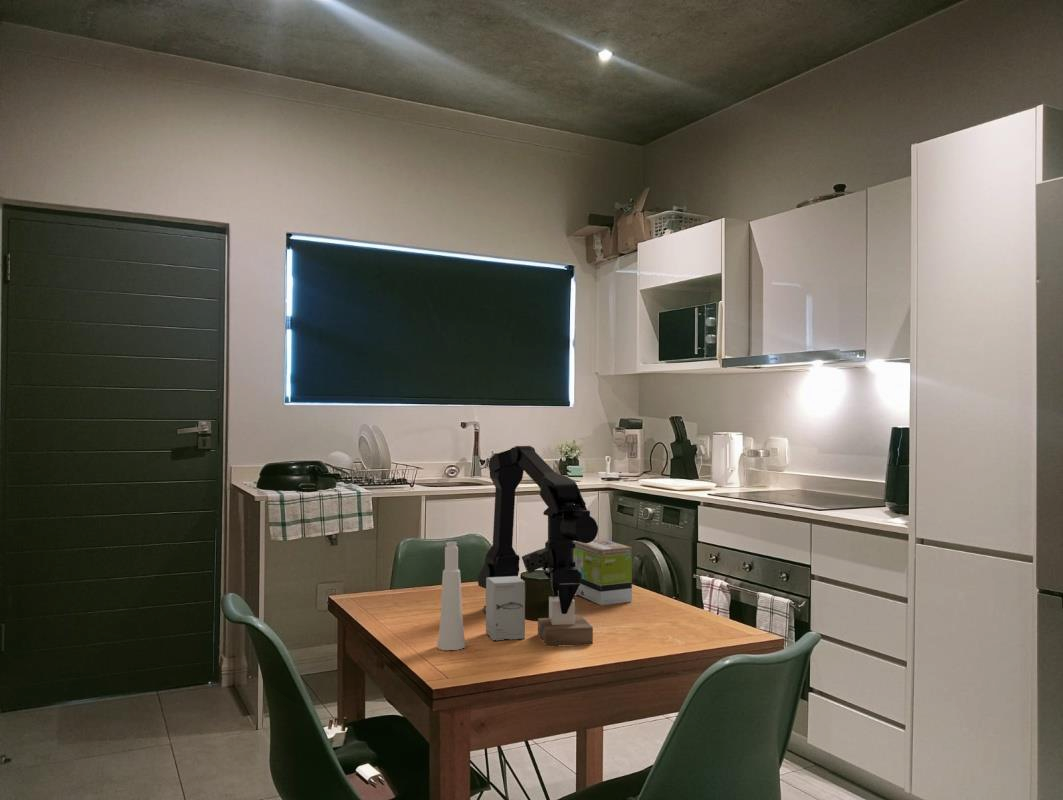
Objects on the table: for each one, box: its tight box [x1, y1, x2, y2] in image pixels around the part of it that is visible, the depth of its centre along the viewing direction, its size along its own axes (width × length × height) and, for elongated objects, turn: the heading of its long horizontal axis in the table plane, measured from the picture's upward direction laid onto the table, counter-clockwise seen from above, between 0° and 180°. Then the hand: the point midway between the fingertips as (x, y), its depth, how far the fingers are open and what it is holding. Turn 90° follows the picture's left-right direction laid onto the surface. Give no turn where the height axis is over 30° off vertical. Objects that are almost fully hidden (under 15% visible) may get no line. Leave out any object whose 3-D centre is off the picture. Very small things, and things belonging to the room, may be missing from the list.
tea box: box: [574, 539, 633, 606], centre depth 220 cm, size 15×10×15 cm, turn 25°
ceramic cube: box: [548, 596, 576, 625], centre depth 179 cm, size 5×5×5 cm
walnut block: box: [537, 615, 594, 647], centre depth 179 cm, size 10×10×4 cm
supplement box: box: [485, 575, 526, 641], centre depth 181 cm, size 7×7×13 cm
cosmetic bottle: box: [436, 541, 466, 651], centre depth 173 cm, size 6×6×22 cm
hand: (560, 608), depth 180 cm, fingers open, 9 cm apart
